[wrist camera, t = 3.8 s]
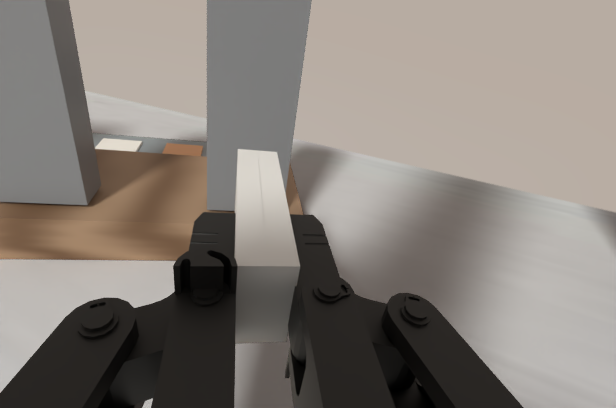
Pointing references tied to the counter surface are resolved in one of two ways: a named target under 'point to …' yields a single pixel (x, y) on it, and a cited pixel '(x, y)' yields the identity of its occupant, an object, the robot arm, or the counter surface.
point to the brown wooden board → (120, 212)
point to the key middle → (43, 108)
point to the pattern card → (149, 145)
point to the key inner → (251, 85)
